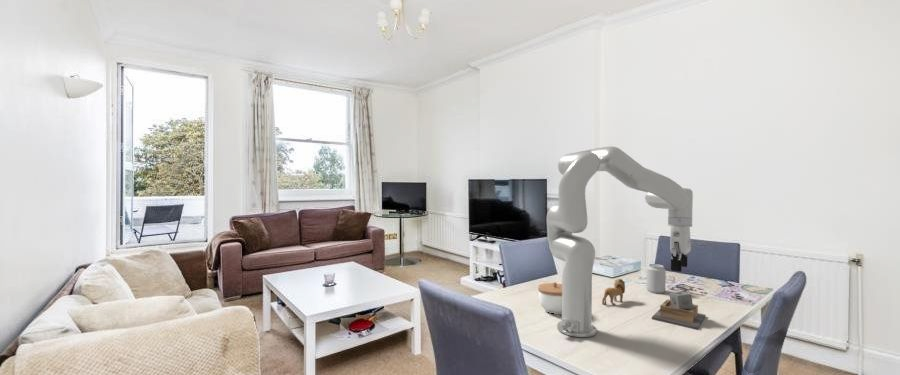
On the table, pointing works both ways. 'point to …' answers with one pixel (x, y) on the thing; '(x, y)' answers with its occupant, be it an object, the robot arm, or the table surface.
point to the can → (656, 278)
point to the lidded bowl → (551, 297)
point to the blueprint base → (681, 323)
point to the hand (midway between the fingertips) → (679, 268)
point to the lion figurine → (615, 291)
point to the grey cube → (681, 300)
